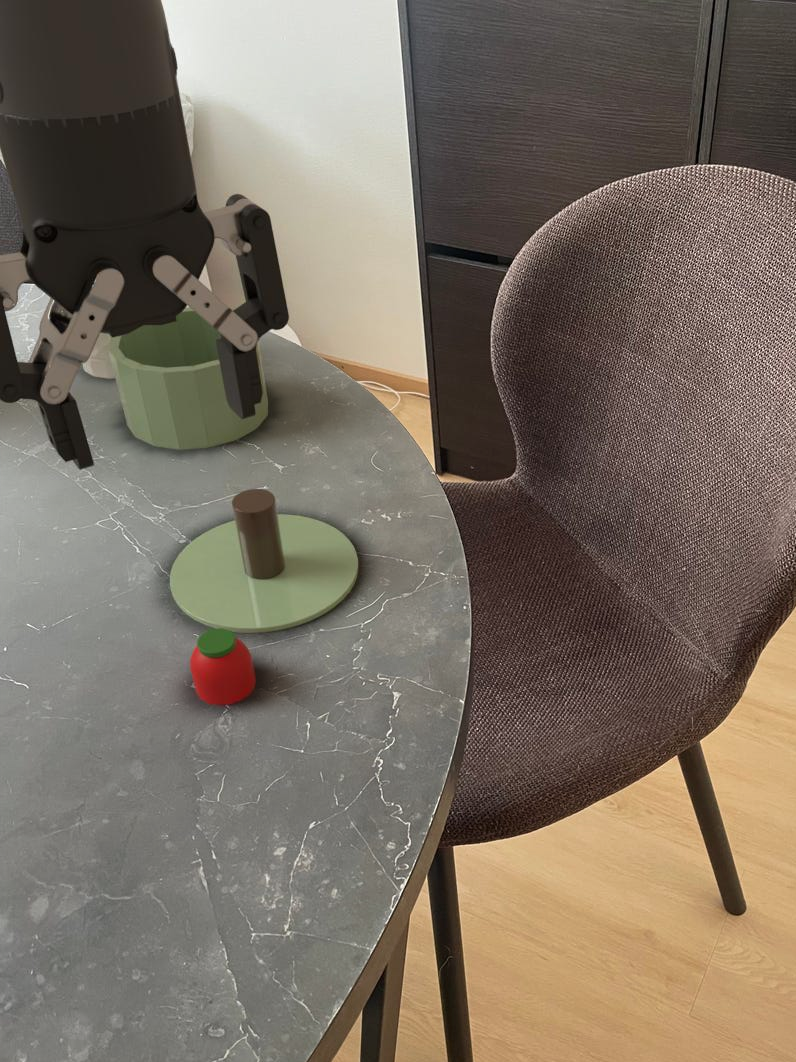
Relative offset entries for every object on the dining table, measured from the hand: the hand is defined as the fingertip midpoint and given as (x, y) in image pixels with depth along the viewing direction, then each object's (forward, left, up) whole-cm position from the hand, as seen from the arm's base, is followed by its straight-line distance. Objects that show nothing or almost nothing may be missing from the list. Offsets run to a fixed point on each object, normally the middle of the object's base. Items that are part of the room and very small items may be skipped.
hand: (163, 435), depth 53 cm
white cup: (-26, +36, -18) cm, 48 cm away
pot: (-15, +29, -18) cm, 37 cm away
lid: (-1, +10, -17) cm, 20 cm away
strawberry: (+1, -1, -18) cm, 18 cm away
